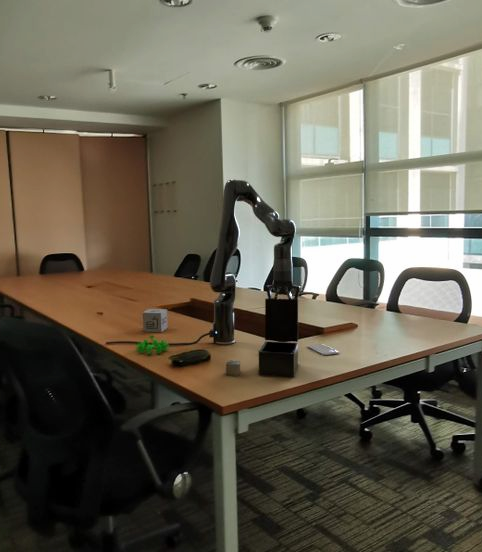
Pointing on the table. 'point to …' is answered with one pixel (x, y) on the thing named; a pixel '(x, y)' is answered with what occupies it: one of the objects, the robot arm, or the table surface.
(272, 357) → the black open box
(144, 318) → the icon cube
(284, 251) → the robot arm
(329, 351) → the mobile phone
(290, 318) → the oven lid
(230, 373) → the steel block
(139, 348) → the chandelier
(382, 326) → the table surface
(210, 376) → the table surface
